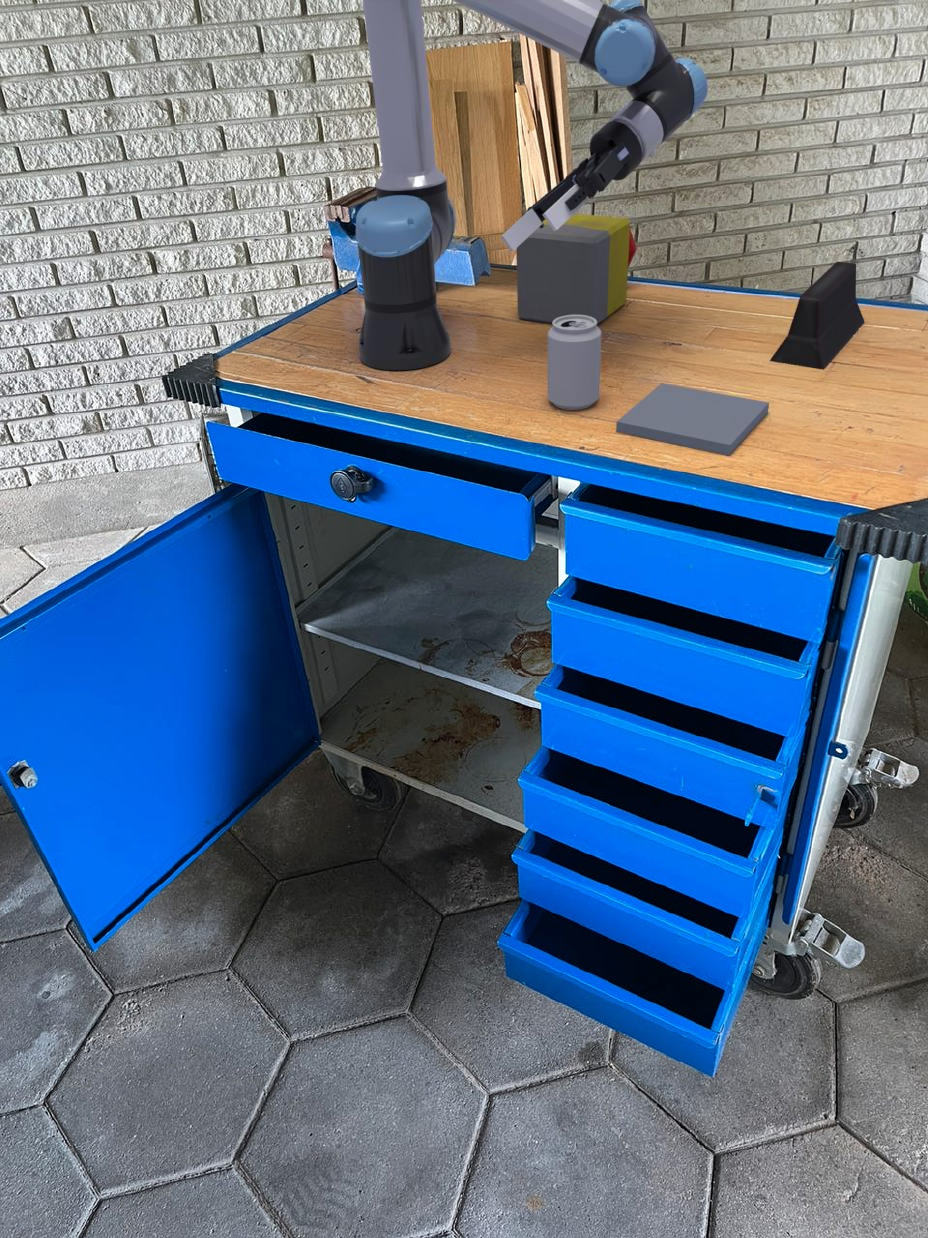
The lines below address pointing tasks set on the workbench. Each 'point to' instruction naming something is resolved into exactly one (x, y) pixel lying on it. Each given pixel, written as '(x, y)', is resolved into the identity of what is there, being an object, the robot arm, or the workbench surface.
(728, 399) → the slate board
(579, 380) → the can
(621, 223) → the emergency stop button
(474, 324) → the workbench surface
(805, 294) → the barrier
